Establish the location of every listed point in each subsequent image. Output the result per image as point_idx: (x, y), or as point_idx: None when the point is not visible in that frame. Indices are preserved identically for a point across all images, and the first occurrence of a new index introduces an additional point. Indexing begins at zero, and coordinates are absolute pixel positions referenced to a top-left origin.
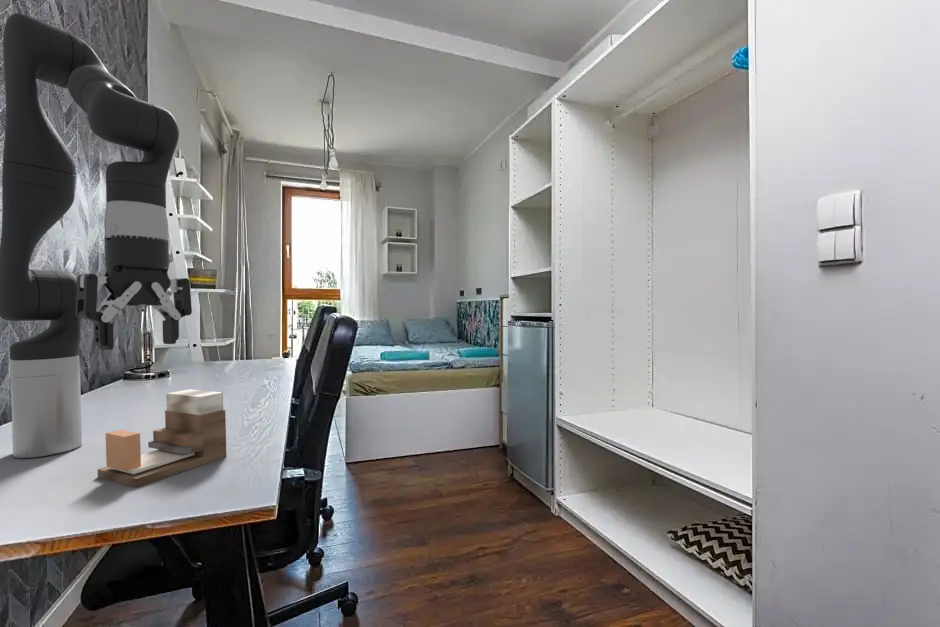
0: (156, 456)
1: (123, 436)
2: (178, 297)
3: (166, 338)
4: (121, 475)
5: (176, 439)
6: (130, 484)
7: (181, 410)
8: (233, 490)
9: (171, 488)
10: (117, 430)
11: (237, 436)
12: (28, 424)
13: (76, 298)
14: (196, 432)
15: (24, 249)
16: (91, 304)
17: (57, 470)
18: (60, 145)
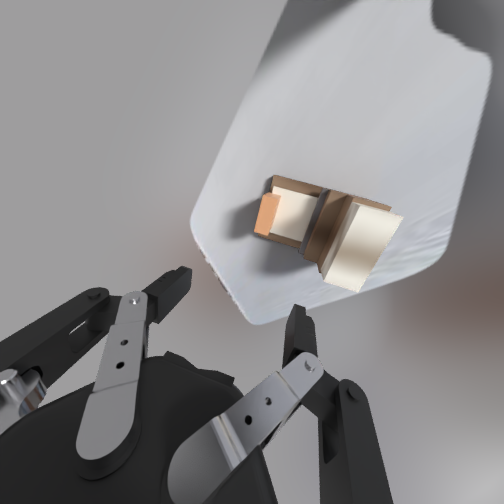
0: (299, 218)
1: (254, 229)
2: (331, 475)
3: (290, 319)
4: None
5: (312, 234)
6: None
7: (336, 236)
8: (266, 300)
9: (264, 258)
10: (274, 199)
11: (432, 218)
12: None
13: (35, 321)
14: (321, 253)
15: None
16: (79, 346)
17: (292, 90)
18: None
